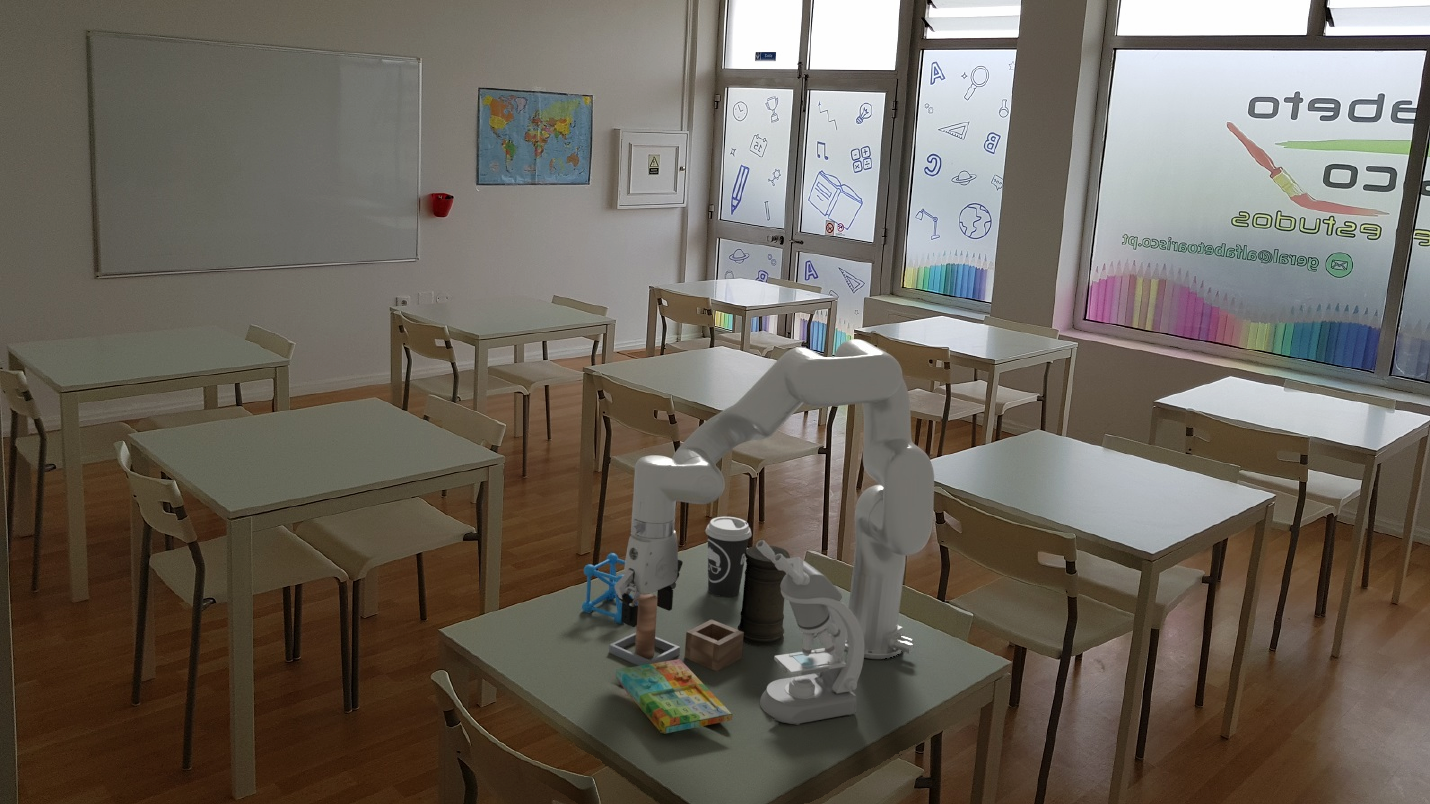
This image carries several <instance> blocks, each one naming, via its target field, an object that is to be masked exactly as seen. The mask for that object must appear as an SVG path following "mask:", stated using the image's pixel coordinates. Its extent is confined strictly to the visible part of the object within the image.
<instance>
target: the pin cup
mask: <svg viewBox="0 0 1430 804" xmlns="http://www.w3.org/2000/svg"><path fill="white" fill-rule="evenodd" d="M743 636H744V632H742V631H739V630H738V628H734V627H732V626H730V625H727V624H724V623H723V622H722V623H721V622H720V621H716V620H714V619H709V620H708V621H705V622H703V623H701V624H699V625H698V626H694V627H693V628H692V629H689V630H687V631H686V634H685V647H684V658H685V659H688V660H689V661H692V662H694V663H696V664H699V665H701V666H703V667H705V668H708V669H711V670H713V671H715V672H719V671H720V670H722V669H724V668H726V667H728V666H730V665H731V664H734V663H735V662H737V661H738V660H741V659H742V656H743V647H744V646H743V645H744V642H743Z"/></svg>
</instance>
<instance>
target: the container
mask: <svg viewBox="0 0 1430 804" xmlns="http://www.w3.org/2000/svg"><path fill="white" fill-rule="evenodd" d="M768 545H769V544H768ZM769 546H770V547H771V549H772V551H773V552H774V553H775V555H777V554H782V555H783V556H784V557H785V558H786V559H787V558H791V555H790V553H789V551H787V549H784V548H782V547H779V546H775V545H769ZM745 563H746V566H745V571H744V582H743V595H742V603H741V604H742V605H741V611H740V622H739V624H738V626H737V630H739V631H742V632H744V636H743V644H746V645H748V646H753V647H758V648H759V647H760V648H767V647H768V648H770V647H775V646H778V645H780V644H782V643H783V642H784V639H785V635H784V634H785V629H784V626H783V625H784V619H785V615H784V611H785V610H784V609H785V598H784V597H783V596H782V593H781V588H780V585H781V582H782V580H783V578H784V576H785V575H786V574H787V573H785V571H783V570H778V569H777V568H776V567H775V564H774V563H773V562H772V561H771V560H770V559H768V558H767V557H765V556H764V555H763V554H762V553H761V552H760V551H759V550H758V549H757V548H756V545H753V546H750V547H747V550H746V552H745Z"/></svg>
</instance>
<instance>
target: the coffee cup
mask: <svg viewBox="0 0 1430 804" xmlns="http://www.w3.org/2000/svg"><path fill="white" fill-rule="evenodd" d="M749 525H750V524H749V523H748V522H747V521H746V520H744V519H742V518H739V517H734V516H718V517H714V518H712V519H710V521H709V523H708V524H707V526H706V529H705V534H706V535H707V579H708V583H707V585H708V589H707V590H708V592H709V593H711V594H712V595H714V596H716V597H724V598H730V597H735V596H737V595H739V593H740V589H741V585H742V584H741V583H742V578H743V571H744V567H745V562H746V557H745V552H746V550H747V549H748V544H749V539H750V538H751V537H752V530H751V527H750V526H749Z"/></svg>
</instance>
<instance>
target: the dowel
mask: <svg viewBox="0 0 1430 804" xmlns="http://www.w3.org/2000/svg"><path fill="white" fill-rule="evenodd" d="M637 606H638V616H637V626H635V632H636V642H635V643H634V644H635V647H634V654H637V655H639V656H641V657H643V658H646V659H650V658H652V657H653V658H654V655H655V649H656V648H655V647H656V646H655V637H656V631H657V630H656V629H657V613H658V611H657V609H658V606H657V595H655V594H652V593H650V594H648V595H642V594H641V595H640V597H639V599H638V603H637Z"/></svg>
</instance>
